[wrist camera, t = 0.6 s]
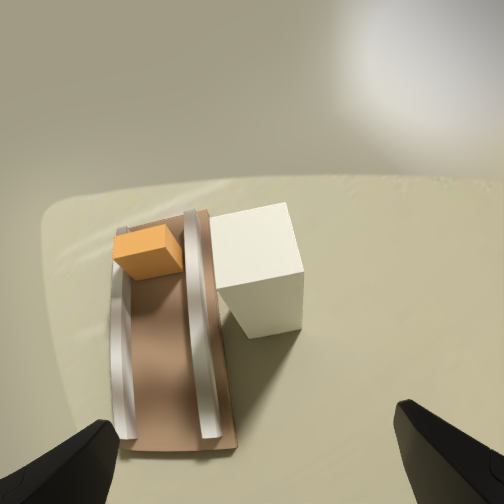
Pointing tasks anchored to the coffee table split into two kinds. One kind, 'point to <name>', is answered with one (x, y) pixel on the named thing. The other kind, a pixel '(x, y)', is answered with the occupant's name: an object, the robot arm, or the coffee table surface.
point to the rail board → (171, 350)
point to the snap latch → (148, 253)
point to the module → (259, 269)
